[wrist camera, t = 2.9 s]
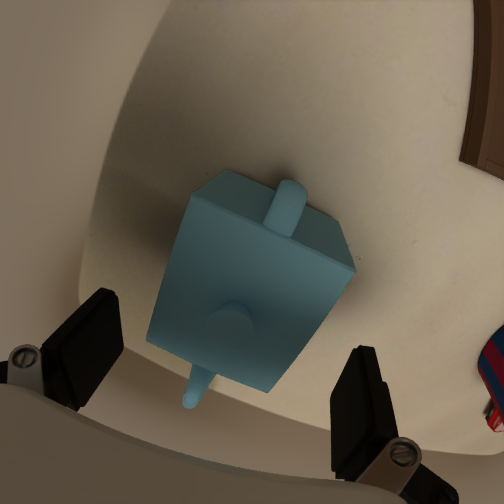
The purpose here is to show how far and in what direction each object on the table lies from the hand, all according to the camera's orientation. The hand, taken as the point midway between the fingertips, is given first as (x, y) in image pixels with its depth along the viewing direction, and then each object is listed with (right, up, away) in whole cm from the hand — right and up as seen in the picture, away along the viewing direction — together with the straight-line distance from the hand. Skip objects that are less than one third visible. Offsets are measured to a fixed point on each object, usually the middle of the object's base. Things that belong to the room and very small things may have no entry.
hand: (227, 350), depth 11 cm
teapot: (+1, +3, +7) cm, 7 cm away
